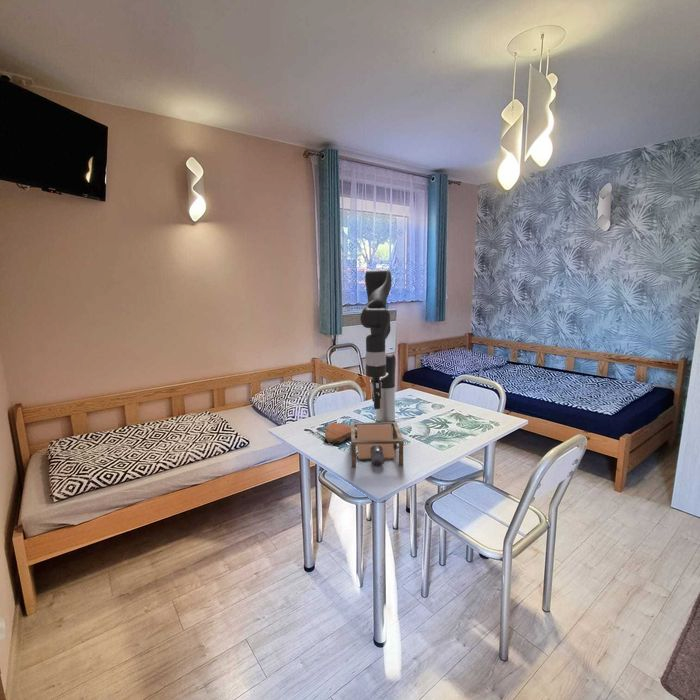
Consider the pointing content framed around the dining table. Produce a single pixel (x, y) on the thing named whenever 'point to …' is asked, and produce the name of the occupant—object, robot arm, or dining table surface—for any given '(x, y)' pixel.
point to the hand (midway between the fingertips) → (376, 404)
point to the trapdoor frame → (394, 441)
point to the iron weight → (377, 455)
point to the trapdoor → (374, 434)
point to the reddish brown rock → (338, 432)
